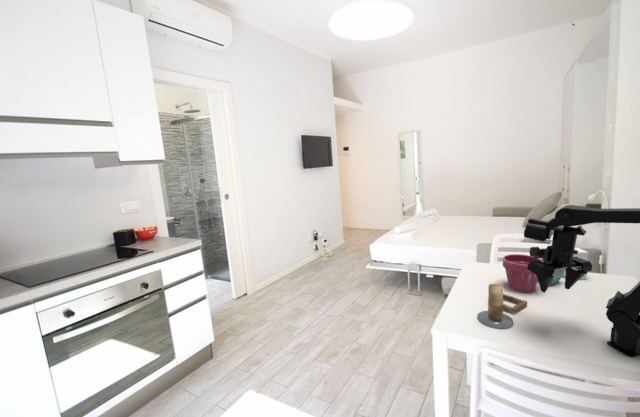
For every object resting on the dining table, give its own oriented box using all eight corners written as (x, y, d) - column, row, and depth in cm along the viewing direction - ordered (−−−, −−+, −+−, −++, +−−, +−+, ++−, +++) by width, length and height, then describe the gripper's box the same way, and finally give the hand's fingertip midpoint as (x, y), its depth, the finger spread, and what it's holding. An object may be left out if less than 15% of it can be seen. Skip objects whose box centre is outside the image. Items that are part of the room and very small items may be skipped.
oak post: (505, 319, 105) (505, 286, 103) (497, 323, 103) (498, 290, 101) (492, 314, 109) (493, 282, 107) (485, 318, 107) (485, 286, 105)
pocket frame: (527, 306, 113) (527, 301, 113) (514, 314, 109) (514, 309, 108) (501, 297, 121) (501, 292, 121) (488, 304, 116) (488, 299, 116)
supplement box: (587, 280, 131) (589, 252, 129) (567, 279, 132) (569, 252, 130) (576, 273, 138) (578, 247, 136) (558, 273, 139) (559, 247, 137)
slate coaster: (521, 326, 101) (521, 324, 101) (490, 330, 100) (490, 329, 100) (498, 310, 112) (498, 309, 112) (470, 314, 111) (470, 312, 111)
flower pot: (530, 281, 134) (531, 261, 132) (542, 276, 137) (543, 257, 136) (552, 288, 126) (554, 267, 124) (564, 283, 130) (566, 263, 128)
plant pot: (534, 281, 133) (535, 254, 131) (548, 296, 120) (550, 265, 118) (497, 280, 137) (498, 253, 135) (508, 294, 124) (509, 264, 121)
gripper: (563, 235, 104) (555, 276, 107) (516, 239, 100) (510, 282, 104) (597, 246, 93) (588, 291, 97) (547, 251, 90) (539, 298, 93)
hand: (555, 290), depth 98 cm, fingers open, 9 cm apart
